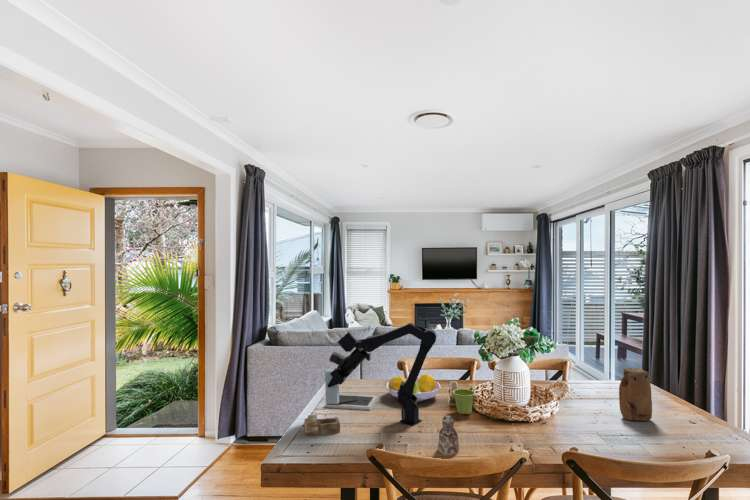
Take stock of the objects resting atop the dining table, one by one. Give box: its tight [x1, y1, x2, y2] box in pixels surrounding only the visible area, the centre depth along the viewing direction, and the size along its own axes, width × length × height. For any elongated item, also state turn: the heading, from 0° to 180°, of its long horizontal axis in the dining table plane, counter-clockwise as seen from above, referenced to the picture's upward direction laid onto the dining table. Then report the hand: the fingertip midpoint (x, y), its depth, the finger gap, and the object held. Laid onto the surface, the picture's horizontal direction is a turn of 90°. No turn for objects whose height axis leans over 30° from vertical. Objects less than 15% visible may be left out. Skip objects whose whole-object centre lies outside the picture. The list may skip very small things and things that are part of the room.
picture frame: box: [325, 393, 378, 411], centre depth 192 cm, size 16×3×21 cm
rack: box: [303, 416, 341, 437], centre depth 160 cm, size 13×6×4 cm, turn 103°
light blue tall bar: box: [324, 369, 340, 405], centre depth 175 cm, size 5×3×14 cm, turn 79°
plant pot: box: [452, 388, 476, 415], centre depth 179 cm, size 9×9×9 cm
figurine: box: [437, 412, 460, 456], centre depth 142 cm, size 7×7×12 cm
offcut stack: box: [303, 414, 318, 433], centre depth 160 cm, size 5×6×5 cm
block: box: [618, 367, 653, 422], centre depth 169 cm, size 11×8×20 cm
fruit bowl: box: [386, 373, 442, 403], centre depth 199 cm, size 28×27×11 cm
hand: (329, 385), depth 175 cm, fingers closed on light blue tall bar, 3 cm apart
